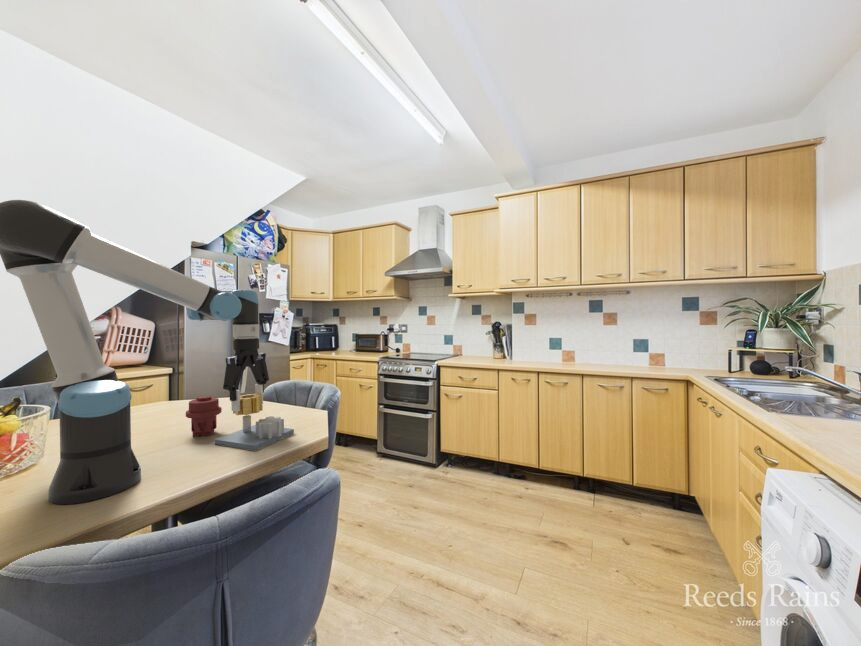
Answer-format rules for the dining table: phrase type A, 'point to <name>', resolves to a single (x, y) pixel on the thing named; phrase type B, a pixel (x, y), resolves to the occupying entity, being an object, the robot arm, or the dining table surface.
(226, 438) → the gear board
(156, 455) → the dining table surface
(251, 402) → the brass gear
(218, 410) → the mechanical component
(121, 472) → the robot arm
